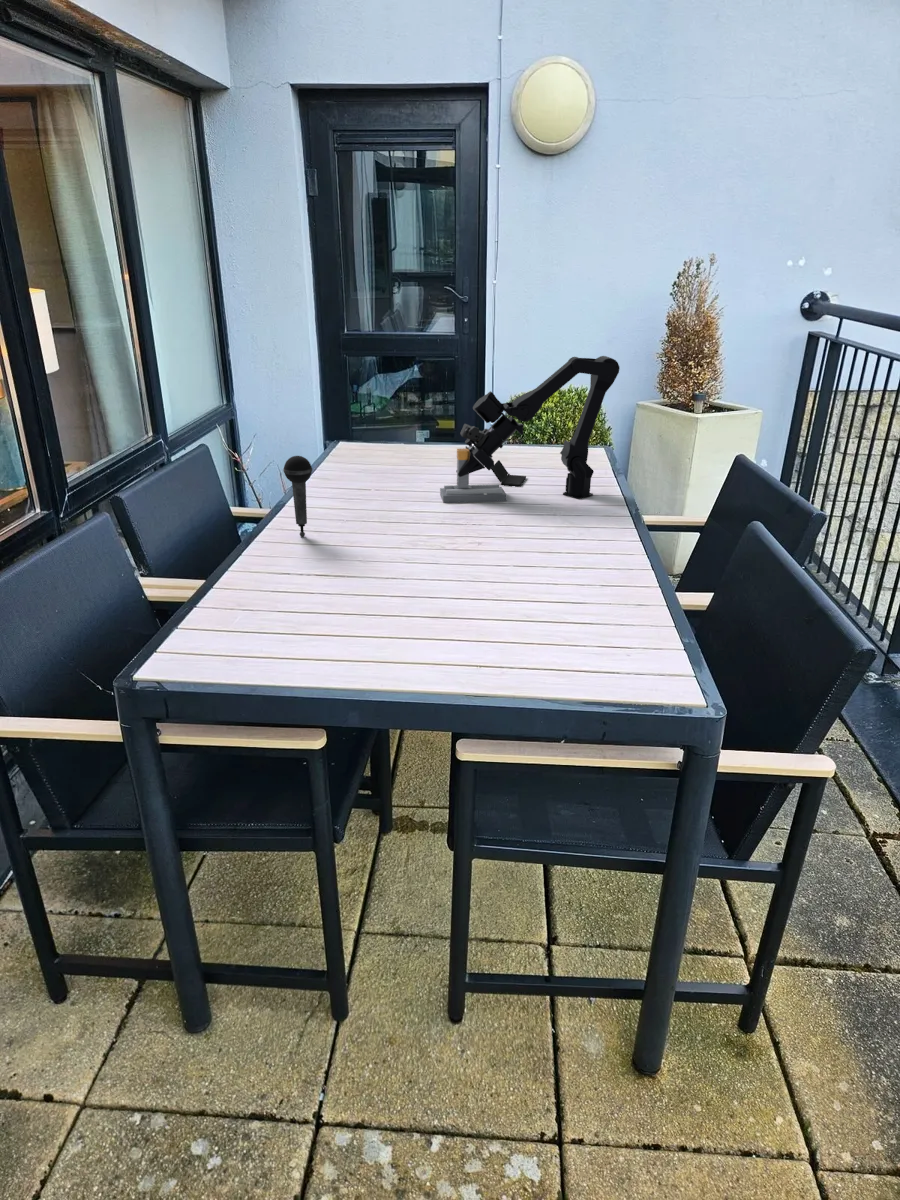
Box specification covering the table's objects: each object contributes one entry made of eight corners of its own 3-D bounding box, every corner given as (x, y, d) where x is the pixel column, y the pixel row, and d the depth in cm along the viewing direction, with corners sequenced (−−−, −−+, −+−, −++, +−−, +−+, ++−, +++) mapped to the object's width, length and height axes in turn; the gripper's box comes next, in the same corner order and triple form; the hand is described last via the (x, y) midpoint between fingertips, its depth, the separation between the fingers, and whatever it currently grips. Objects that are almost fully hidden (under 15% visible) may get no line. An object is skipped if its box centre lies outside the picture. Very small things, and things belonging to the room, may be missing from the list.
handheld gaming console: (527, 482, 237) (507, 455, 235) (507, 496, 239) (488, 469, 237) (527, 478, 248) (509, 452, 246) (509, 491, 250) (490, 465, 248)
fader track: (501, 493, 231) (501, 482, 229) (506, 501, 223) (506, 490, 222) (440, 495, 228) (440, 484, 227) (443, 502, 221) (443, 491, 220)
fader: (470, 489, 226) (471, 448, 222) (472, 492, 224) (472, 450, 219) (453, 489, 226) (453, 448, 221) (454, 492, 223) (455, 451, 218)
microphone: (310, 542, 189) (305, 460, 181) (283, 540, 191) (277, 458, 183) (320, 533, 196) (315, 453, 188) (294, 531, 197) (288, 452, 189)
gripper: (472, 408, 225) (434, 447, 228) (483, 420, 208) (441, 462, 211) (499, 435, 229) (461, 473, 232) (511, 449, 212) (470, 490, 215)
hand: (457, 474), depth 223 cm, fingers closed on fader, 3 cm apart
